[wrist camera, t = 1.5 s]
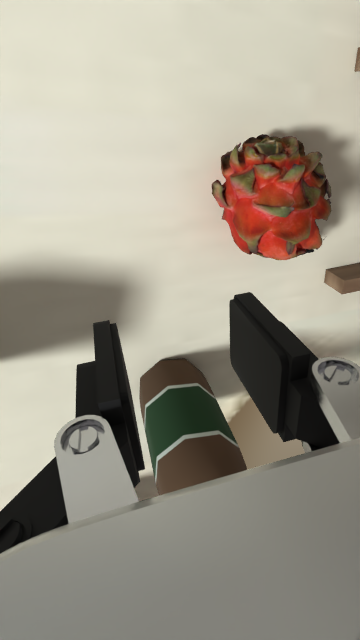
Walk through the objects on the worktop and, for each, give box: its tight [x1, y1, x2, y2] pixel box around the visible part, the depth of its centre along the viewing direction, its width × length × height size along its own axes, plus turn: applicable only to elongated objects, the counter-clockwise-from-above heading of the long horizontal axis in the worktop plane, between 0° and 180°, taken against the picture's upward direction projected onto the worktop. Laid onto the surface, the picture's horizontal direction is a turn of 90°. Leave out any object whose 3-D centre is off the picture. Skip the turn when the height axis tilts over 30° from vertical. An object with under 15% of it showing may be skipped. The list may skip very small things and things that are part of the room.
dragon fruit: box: [212, 134, 331, 260], centre depth 28 cm, size 8×8×12 cm
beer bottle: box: [140, 359, 247, 496], centre depth 29 cm, size 8×8×24 cm
